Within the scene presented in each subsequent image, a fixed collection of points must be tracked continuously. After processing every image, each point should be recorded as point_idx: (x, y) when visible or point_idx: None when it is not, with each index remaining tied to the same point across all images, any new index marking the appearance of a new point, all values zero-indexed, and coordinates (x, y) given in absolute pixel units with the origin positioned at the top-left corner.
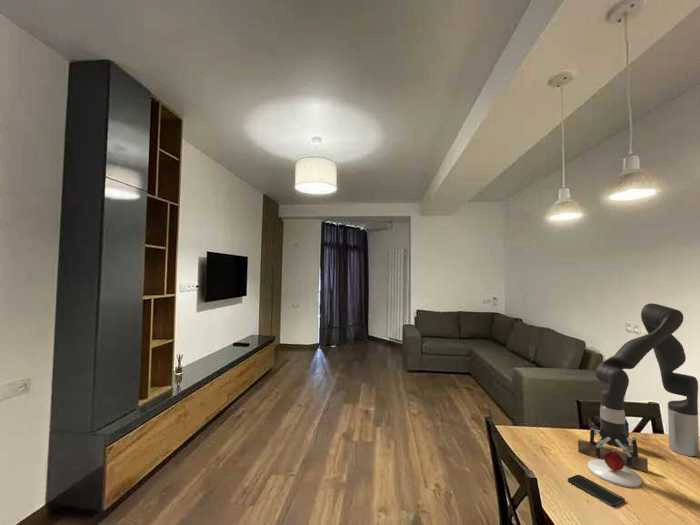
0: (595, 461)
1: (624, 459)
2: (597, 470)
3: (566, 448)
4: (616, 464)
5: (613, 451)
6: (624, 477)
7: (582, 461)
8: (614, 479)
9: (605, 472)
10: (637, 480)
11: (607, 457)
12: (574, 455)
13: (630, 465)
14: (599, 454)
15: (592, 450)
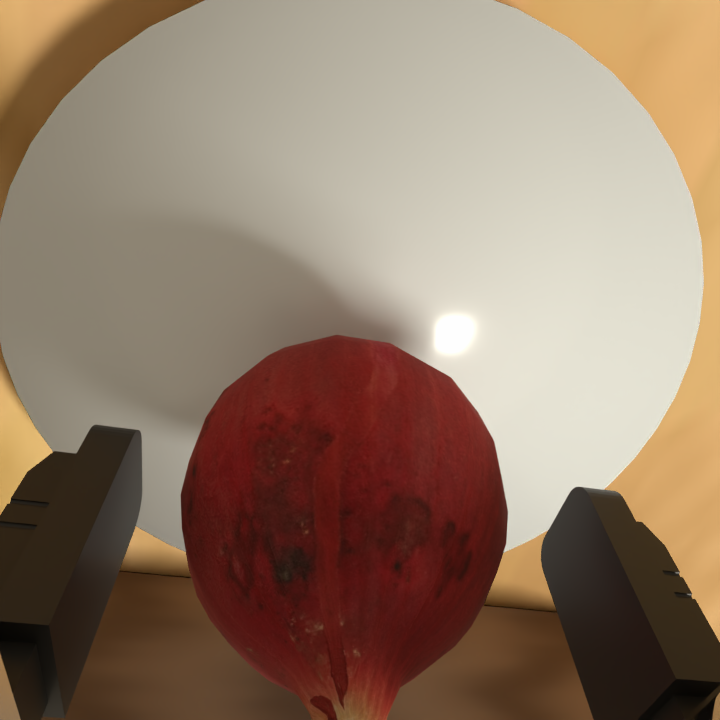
0: (525, 506)
1: (182, 651)
2: (604, 272)
3: (715, 631)
4: (332, 381)
5: (362, 702)
6: (227, 263)
7: (664, 466)
8: (407, 81)
9: (491, 272)
10: (47, 270)
11: (488, 507)
12: (698, 547)
13: (60, 454)
14: (624, 545)
15: (506, 674)
